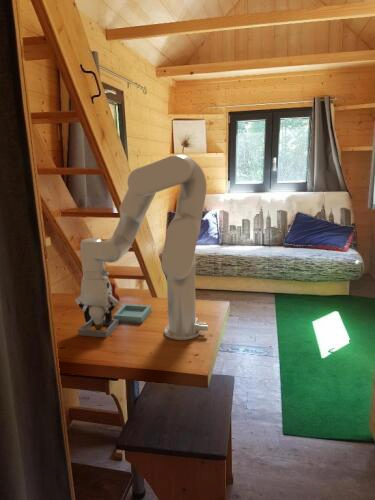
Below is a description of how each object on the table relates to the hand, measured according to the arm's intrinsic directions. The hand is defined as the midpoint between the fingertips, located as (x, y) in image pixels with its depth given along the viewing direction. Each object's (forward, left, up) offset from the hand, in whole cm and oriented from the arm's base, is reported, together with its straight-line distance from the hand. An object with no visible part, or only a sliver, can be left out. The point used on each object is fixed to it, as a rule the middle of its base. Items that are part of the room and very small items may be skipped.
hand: (98, 321), depth 134 cm
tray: (-8, -13, -3) cm, 16 cm away
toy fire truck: (+8, -24, -4) cm, 26 cm away
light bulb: (0, 0, -3) cm, 3 cm away
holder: (0, 0, -3) cm, 3 cm away
